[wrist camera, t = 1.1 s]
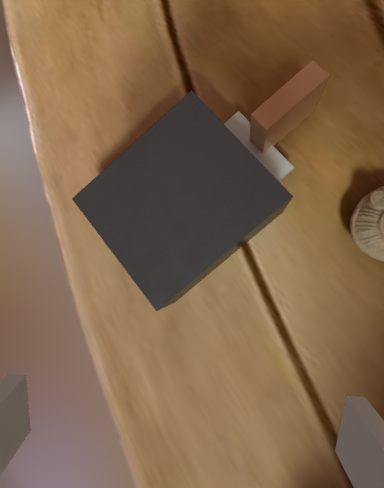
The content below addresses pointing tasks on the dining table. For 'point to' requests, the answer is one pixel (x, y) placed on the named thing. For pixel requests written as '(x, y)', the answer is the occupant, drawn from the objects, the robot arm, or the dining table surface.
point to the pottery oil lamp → (369, 224)
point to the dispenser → (181, 201)
